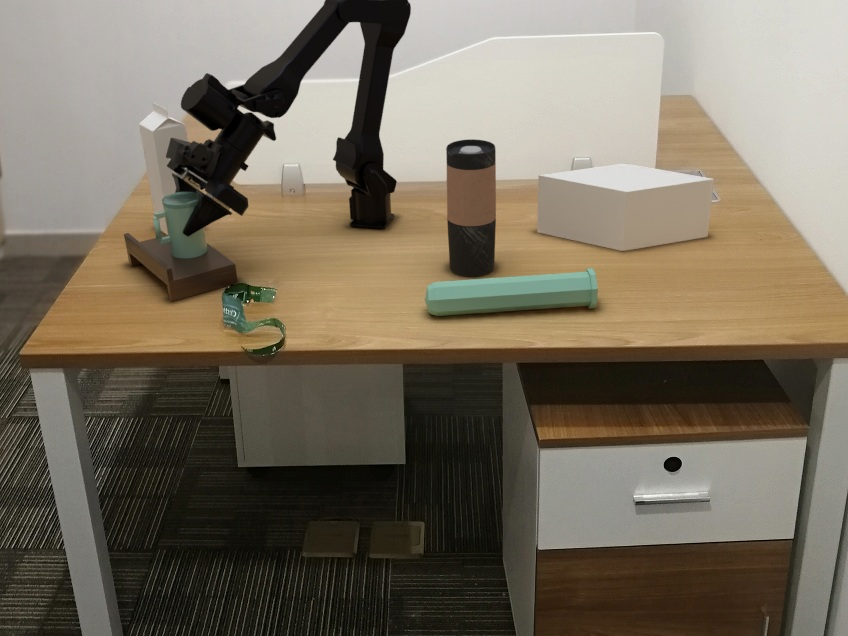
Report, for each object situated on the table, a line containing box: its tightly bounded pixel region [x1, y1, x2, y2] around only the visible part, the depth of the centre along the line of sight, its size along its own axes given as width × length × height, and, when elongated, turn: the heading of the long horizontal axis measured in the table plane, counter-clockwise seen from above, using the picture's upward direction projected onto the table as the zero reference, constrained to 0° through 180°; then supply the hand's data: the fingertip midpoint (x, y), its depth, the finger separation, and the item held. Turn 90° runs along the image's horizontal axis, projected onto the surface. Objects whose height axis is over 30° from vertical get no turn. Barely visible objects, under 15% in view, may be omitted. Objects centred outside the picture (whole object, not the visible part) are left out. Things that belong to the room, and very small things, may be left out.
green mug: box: [152, 192, 208, 259], centre depth 161 cm, size 8×6×9 cm
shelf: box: [123, 232, 239, 303], centre depth 163 cm, size 11×18×5 cm, turn 36°
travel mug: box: [445, 138, 497, 278], centre depth 159 cm, size 8×8×20 cm
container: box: [424, 267, 599, 317], centre depth 149 cm, size 6×6×25 cm
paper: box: [536, 162, 715, 252], centre depth 172 cm, size 14×29×10 cm, turn 83°
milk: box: [138, 101, 189, 236], centre depth 176 cm, size 6×6×22 cm
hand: (177, 229), depth 161 cm, fingers closed on green mug, 6 cm apart
